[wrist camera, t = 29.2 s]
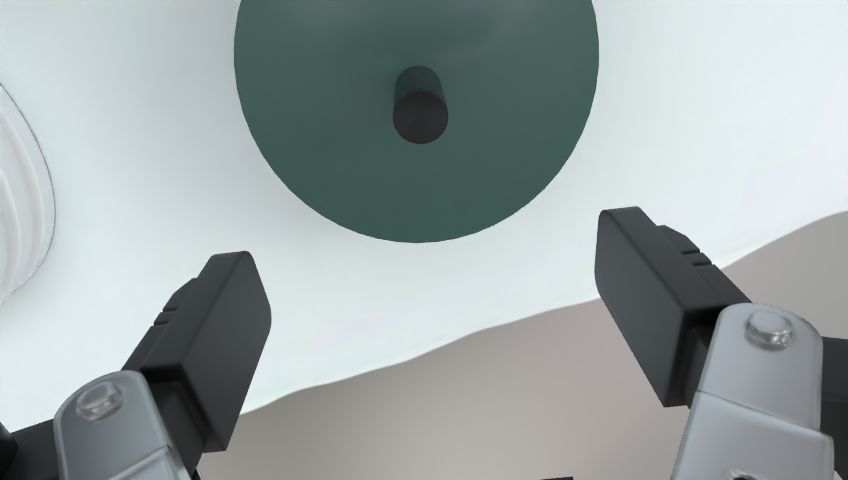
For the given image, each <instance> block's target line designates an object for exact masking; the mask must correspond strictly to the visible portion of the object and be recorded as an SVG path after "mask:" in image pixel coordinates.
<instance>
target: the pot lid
mask: <svg viewBox="0 0 848 480" xmlns="http://www.w3.org/2000/svg"><path fill="white" fill-rule="evenodd" d="M234 67H235V76H236V84H237V90H238V94H239V98H240V102H241V106H242V110H243V114H244V116H245V119H246V121H247V124H248V127H249V129H250V132H251V134H252V136H253V138H254V140H255V142H256V144H257V146H258V148H259V149H260V151H261V153H262V155H263V156H264V158H265V159H266V161H267V162H268V164H269V165H270V167H271V168H272V169H273V171H274V172H275V174H276V175H277V176H278V177H279V178H280V179H281V180H282V181H283V183H284V184H285V185H286V186H287V187H288V188H289V189H290V190H291V191H292V192H293V193H294V194H295V195H296V196H297V197H299V198H300V199H301V200H302V201H303V202H304V203H305V204H307V205H308V206H309V207H311V208H312V209H314V210H315V211H316V212H318V213H319V214H321V215H322V216H324V217H326V218H327V219H329V220H331V221H333V222H335V223H337V224H338V225H340V226H343V227H345V228H347V229H350V230H352V231H355V232H357V233H360V234H363V235H367V236H370V237H374V238H378V239H383V240H389V241H395V242H408V243H425V242H439V241H444V240H450V239H456V238H460V237H463V236H466V235H470V234H473V233H476V232H479V231H481V230H483V229H486V228H488V227H491V226H493V225H495V224H497V223H499V222H500V221H502V220H504V219H506V218H508V217H509V216H511V215H513V214H514V213H515V212H517V211H518V210H520V209H521V208H522V207H524V206H525V205H527V204H528V203H529V202H530V201H531V200H533V199H534V198H535V197H536V196H537V195H538V194H539V193H540V192H541V191H542V190H544V189H545V187H546V186H547V185H548V184H549V183H550V182H551V181H552V179H553V178H554V177H555V176H556V175H557V174H558V173H559V171H560V170H561V168H562V167H563V165H564V164H565V162H566V161H567V159H568V158H569V157H570V155H571V153H572V152H573V150H574V148H575V146H576V144H577V142H578V140H579V138H580V136H581V134H582V132H583V129H584V127H585V124H586V121H587V119H588V116H589V114H590V110H591V106H592V102H593V98H594V94H595V90H596V83H597V75H598V67H599V40H598V32H597V24H596V16H595V12H594V8H593V5H592V1H591V0H241V3H240V7H239V10H238V16H237V23H236V30H235V37H234Z"/></svg>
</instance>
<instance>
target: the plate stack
mask: <svg viewBox="0 0 848 480" xmlns="http://www.w3.org/2000/svg"><path fill="white" fill-rule="evenodd" d="M54 220H55V208H54V197H53V191H52V185H51V181H50V177H49V174H48V170H47V167H46V164H45V161H44V159H43V156H42V154H41V151H40V149H39V147H38V144H37V142H36V140H35V138H34V136H33V134H32V132H31V130H30V129H29V127H28V125H27V123H26V121H25V120H24V118H23V116H22V115H21V113H20V112H19V110H18V109H17V107H16V106H15V104H14V103H13V101H12V100H11V98H10V97H9V96H8V94H7V93H6V91H5V90H4V89H3V88H2V86H1V85H0V303H1V302H2V301H4V300H5V299H6V298H7V297H8V296H9V295H10V294H12V293H13V292H14V291H15V290H17V289H18V288H19V287H20V286H21V285H22V284H24V283H25V282H26V281H27V280H28V279H29V278H30V277H31V276H32V275H33V274H34V273H35V271H36V270H37V269H38V268H39V266H40V265H41V263H42V261H43V260H44V258H45V256H46V254H47V252H48V249H49V246H50V243H51V240H52V235H53V230H54Z"/></svg>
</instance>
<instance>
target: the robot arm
mask: <svg viewBox="0 0 848 480" xmlns="http://www.w3.org/2000/svg"><path fill="white" fill-rule="evenodd" d="M595 281H596V285H597V289H598V292H599V294H600V296H601V298H602V300H603V301H604V303H605V305H606V307H607V308H608V310H609V312H610V314H611V315H612V317H613V319H614V321H615V322H616V324H617V326H618V328H619V329H620V331H621V333H622V335H623V336H624V338H625V340H626V342H627V343H628V345H629V347H630V349H631V351H632V352H633V354H634V356H635V358H636V359H637V361H638V363H639V365H640V366H641V368H642V370H643V372H644V373H645V375H646V377H647V379H648V380H649V382H650V384H651V386H652V387H653V389H654V391H655V393H656V394H657V396H658V398H659V400H660V401H661V403H662V405H663V407H673V406H683V405H687V406H688V408H689V409H690V412H689V416H688V419H687V423H686V426H685V430H684V433H683V436H682V440H681V443H680V447H679V450H678V454H677V457H676V461H675V464H674V468H673V471H672V474H671V478H670V480H834V471H836V472H837V473H838V474H839V476H840V477H841V478H842V479H843V480H848V339H839V338H829V337H822V336H820V334H819V333H818V331H817V330H816V329H815V328H814V327H813V326H812V325H811V324H810V323H809V322H807V321H806V320H805V319H803V318H801V317H800V316H798V315H796V314H794V313H792V312H790V311H787V310H784V309H782V308H779V307H775V306H771V305H766V304H759V303H752V302H751V301H750V300H749V299H748V298H747V297H746V296H745V295H744V294H743V293H742V292H741V291H740V290H739V289H738V288H737V287H736V286H735V285H734V284H733V283H732V282H731V281H730V280H729V279H728V278H727V277H726V276H725V275H724V274H723V273H722V272H721V271H720V270H719V269H718V268H717V267H716V266H715V265H712V263H711V261H710V259H709V258H708V257H707V256H706V255H705V254H704V253H700V249H699V248H698V247H697V246H696V245H695V244H694V243H693V242H692V241H691V240H690V239H689V238H688V237H687V236H685V235H683V234H681V233H679V232H677V231H675V230H673V229H671V228H669V227H667V226H665V225H661V226H656V225H655V224H654V223H653V222H652V220H651V219H650V218H649V217H648V216H647V215H646V214H645V213H644V212H643V211H642V210H641V209H640V208H639V207H637V206H635V207H626V208H617V209H609V210H603V211H601V213H600V215H599V220H598V231H597V244H596V256H595ZM270 328H271V309H270V304H269V301H268V298H267V296H266V293H265V290H264V287H263V284H262V282H261V279H260V276H259V273H258V270H257V268H256V265H255V262H254V259H253V257H252V255H251V254H250V253H249V252H248V251H240V252H232V253H223V254H215V255H212V256H211V257H210V259H209V260H208V262H207V263H206V265H205V267H204V268H203V270H202V271H201V273H200V274H199V276H198V277H197V278H192V279H191V280H190V281H188V282H187V283H186V284H185V285H183V286H182V287H181V288H180V289H178V290H177V291H176V292H175V293H174V294H173V295H172V297H171V298H170V299H169V301H168V302H167V304H166V305H165V307H164V308H163V312H161V313H160V314H159V315H158V317H157V318H156V320H155V321H154V326H151V327H150V328H149V330H148V331H147V333H146V334H145V336H144V337H143V339H142V340H141V341H140V343H139V344H138V346H137V347H136V349H135V350H134V352H133V353H132V355H131V356H130V357H129V359H128V360H127V362H126V363H125V365H124V366H123V368H122V369H121V370H120V371H117V372H113V373H109V374H106V375H103V376H101V377H99V378H97V379H94V380H93V381H91V382H89V383H87V384H86V385H84V386H82V387H81V388H79V389H78V390H77V391H76V392H74V393H73V394H72V395H71V396H70V397H69V398H67V400H66V401H65V402H64V403H63V404H62V405H61V407H60V408H59V409H58V411H57V413H56V415H55V417H54V419H51V420H48V421H45V422H42V423H39V424H36V425H33V426H30V427H27V428H24V429H21V430H18V431H15V432H12V433H9V432H8V431H7V429H6V428H5V427H4V426H3V425H2V424H1V422H0V480H203V478H202V475H201V473H200V472H199V470H198V468H197V465H198V462H199V460H200V458H201V455H202V453H208V452H219V451H226V449H227V447H228V444H229V441H230V438H231V436H232V433H233V430H234V427H235V425H236V422H237V419H238V417H239V414H240V411H241V408H242V406H243V403H244V400H245V397H246V395H247V392H248V389H249V386H250V384H251V381H252V378H253V375H254V373H255V370H256V367H257V364H258V362H259V359H260V356H261V354H262V351H263V348H264V345H265V343H266V340H267V337H268V334H269V332H270ZM545 480H573V477H564V478H555V479H554V478H553V479H545Z"/></svg>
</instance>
